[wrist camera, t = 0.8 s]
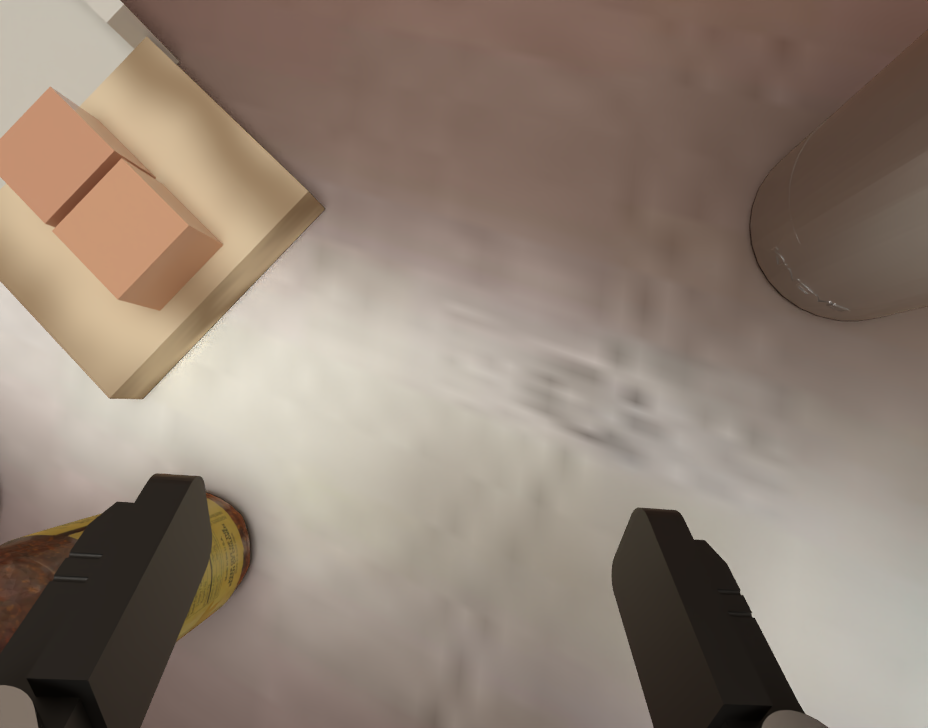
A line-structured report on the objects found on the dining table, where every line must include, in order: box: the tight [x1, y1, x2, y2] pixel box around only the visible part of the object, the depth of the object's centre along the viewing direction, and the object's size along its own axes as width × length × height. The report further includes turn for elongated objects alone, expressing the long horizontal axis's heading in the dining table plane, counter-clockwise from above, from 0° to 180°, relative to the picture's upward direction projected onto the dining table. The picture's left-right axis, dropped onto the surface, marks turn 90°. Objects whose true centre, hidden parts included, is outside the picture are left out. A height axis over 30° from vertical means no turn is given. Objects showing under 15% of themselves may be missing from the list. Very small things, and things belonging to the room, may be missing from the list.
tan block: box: [52, 158, 223, 311], centre depth 26 cm, size 4×4×3 cm
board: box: [0, 36, 325, 399], centre depth 29 cm, size 14×12×2 cm
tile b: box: [0, 87, 156, 227], centre depth 27 cm, size 4×4×3 cm
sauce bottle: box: [0, 493, 250, 653], centre depth 19 cm, size 7×6×20 cm
